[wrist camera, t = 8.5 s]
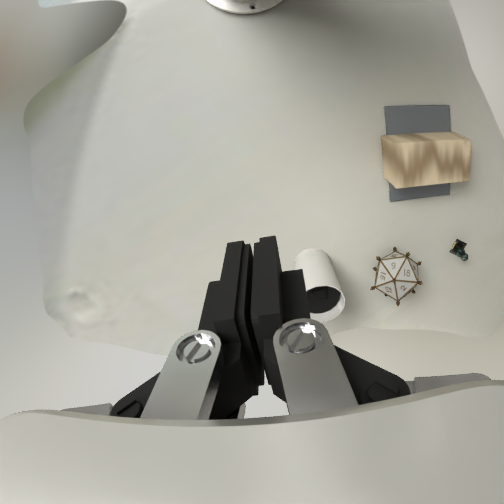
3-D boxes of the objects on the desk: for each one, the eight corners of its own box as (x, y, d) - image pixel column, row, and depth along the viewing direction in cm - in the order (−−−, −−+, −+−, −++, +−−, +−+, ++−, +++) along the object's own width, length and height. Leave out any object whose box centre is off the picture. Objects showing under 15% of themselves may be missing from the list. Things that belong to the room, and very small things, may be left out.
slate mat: (384, 106, 37) (385, 107, 37) (448, 105, 36) (449, 105, 36) (389, 200, 44) (390, 201, 44) (448, 193, 43) (449, 194, 43)
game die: (391, 243, 52) (439, 255, 44) (382, 290, 54) (428, 306, 45) (360, 242, 47) (414, 256, 39) (351, 295, 49) (402, 315, 41)
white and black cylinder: (286, 251, 49) (291, 291, 41) (328, 241, 48) (342, 279, 40) (296, 285, 52) (301, 327, 44) (335, 275, 51) (347, 316, 43)
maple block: (394, 143, 35) (470, 139, 33) (381, 135, 39) (452, 131, 38) (396, 188, 38) (469, 180, 36) (383, 176, 42) (452, 169, 41)
